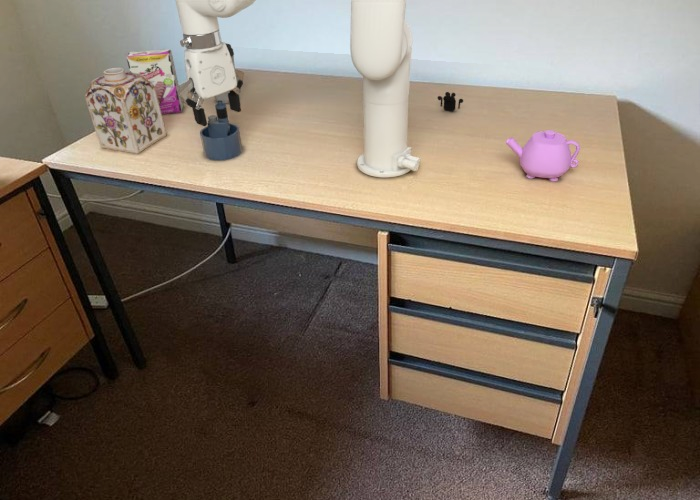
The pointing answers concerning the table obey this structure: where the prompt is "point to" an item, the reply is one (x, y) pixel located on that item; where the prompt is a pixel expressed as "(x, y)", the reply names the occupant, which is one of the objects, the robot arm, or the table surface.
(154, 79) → the candy bar box
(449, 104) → the wireless earbuds
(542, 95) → the table surface
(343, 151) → the table surface
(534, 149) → the teapot
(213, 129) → the vaping device
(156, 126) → the decorative jar
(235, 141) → the pen cup
